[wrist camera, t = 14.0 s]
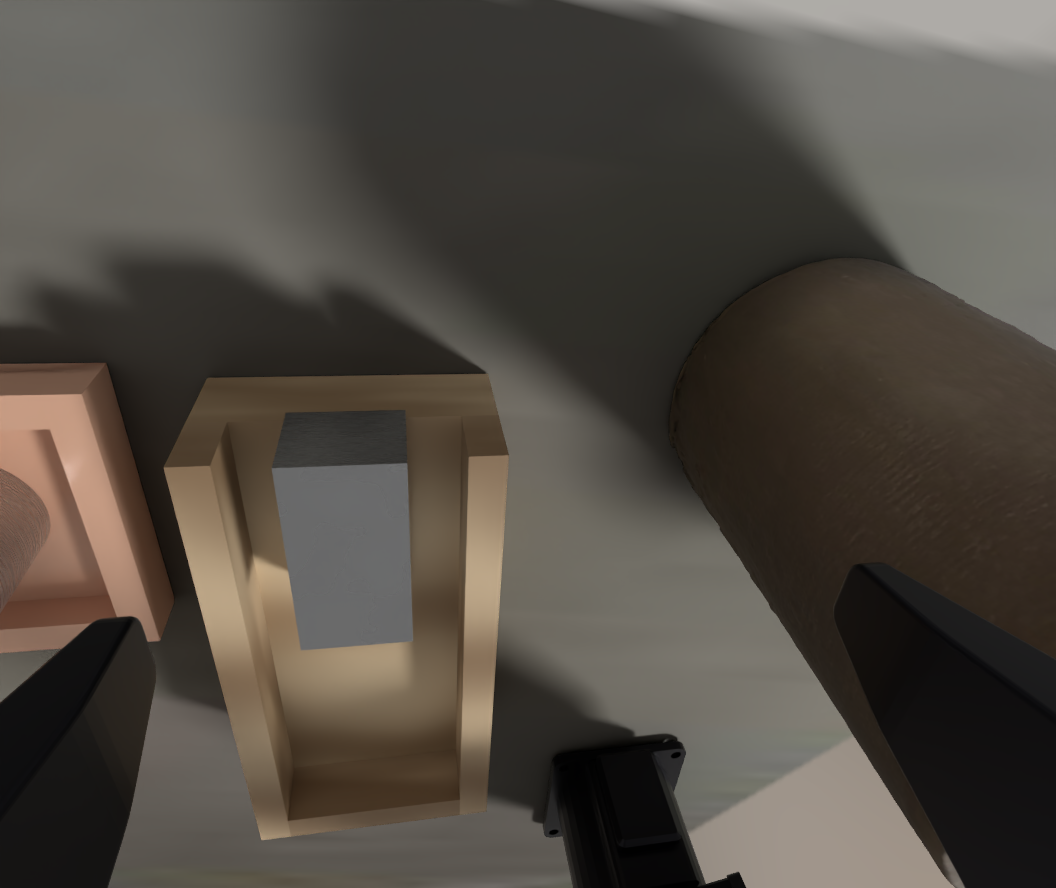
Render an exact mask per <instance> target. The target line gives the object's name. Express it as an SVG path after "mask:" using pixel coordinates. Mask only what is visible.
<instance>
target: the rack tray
mask: <svg viewBox="0 0 1056 888" xmlns="http://www.w3.org/2000/svg"><path fill="white" fill-rule="evenodd" d="M0 468H1V469H3V470H5V471H7V472H9V473H11V474H13V475H14V476H16V477H18V478H19V479H21V480H22V481H23V482H25V483H26V484H27V485H28V486H29V487H31V488H32V489H33V490H34V491H35V492H36V494H37V495H38V496H39V497H40V498H41V500H42V501H43V503H44V505H45V507H46V509H47V511H48V514H49V517H50V533H49V536H48V539H47V541H46V542H45V544H44V546H43V547H42V549H41V550H40V552H39V554H38V555H37V557H36V558H35V560H34V561H33V563H32V564H31V566H30V568H29V569H28V571H27V572H26V574H25V575H24V577H23V579H22V580H21V582H20V583H19V585H18V586H17V588H16V590H15V591H14V593H13V594H12V596H11V597H10V599H9V600H8V602H7V604H6V605H5V607H4V608H3V610H2V611H1V613H0V653H9V652H22V651H35V650H48V649H61V648H63V647H64V646H65V645H67V644H68V643H69V642H70V641H71V640H72V639H73V638H75V637H76V636H77V635H78V634H79V633H80V632H81V631H83V630H84V629H85V628H86V627H87V626H88V625H89V624H91V623H92V622H94V621H96V620H97V619H101V618H110V617H124V616H133V617H136V618H138V619H139V621H140V622H141V624H142V626H143V629H144V632H145V635H146V638H147V641H148V642H152V641H160V640H161V637H162V635H163V632H164V629H165V626H166V623H167V621H168V618H169V615H170V612H171V610H172V607H173V604H174V601H175V599H174V595H173V592H172V588H171V585H170V582H169V578H168V575H167V571H166V568H165V564H164V561H163V557H162V554H161V550H160V547H159V543H158V540H157V537H156V533H155V530H154V526H153V523H152V519H151V516H150V512H149V509H148V505H147V502H146V498H145V495H144V492H143V488H142V485H141V481H140V478H139V474H138V471H137V467H136V464H135V460H134V457H133V453H132V450H131V446H130V443H129V440H128V436H127V433H126V429H125V426H124V422H123V419H122V415H121V412H120V408H119V405H118V401H117V398H116V395H115V391H114V388H113V384H112V381H111V377H110V374H109V370H108V367H107V363H37V364H0Z"/></svg>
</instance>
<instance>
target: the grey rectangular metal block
mask: <svg viewBox="0 0 1056 888" xmlns="http://www.w3.org/2000/svg"><path fill="white" fill-rule="evenodd" d="M272 474H273V480H274V486H275V493H276V499H277V505H278V511H279V517H280V524H281V530H282V536H283V542H284V548H285V555H286V561H287V567H288V573H289V580H290V586H291V592H292V598H293V604H294V611H295V617H296V623H297V629H298V635H299V642H300V648H301V650H314V649H326V648H338V647H350V646H363V645H375V644H387V643H399V642H412V641H413V624H412V593H411V562H410V531H409V500H408V468H407V439H406V410H378V411H334V412H291V413H286V414H285V418H284V422H283V426H282V430H281V434H280V437H279V441H278V445H277V449H276V453H275V457H274V461H273V465H272Z"/></svg>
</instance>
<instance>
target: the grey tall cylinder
mask: <svg viewBox="0 0 1056 888" xmlns="http://www.w3.org/2000/svg"><path fill="white" fill-rule="evenodd" d="M49 533H50V517H49V514H48V511H47V509H46V507H45V505H44V503H43V501H42V500H41V498H40V497H39V496H38V495H37V494H36V492H35V491H34V490H33V489H32V488H31V487H29V486H28V485H27V484H26V483H25V482H23V481H22V480H21V479H19V478H18V477H16V476H14V475H13V474H11V473H9V472H7V471H5V470H3V469H1V468H0V613H1V611H2V610H3V608H4V607H5V605H6V604H7V602H8V600H9V599H10V597H11V596H12V594H13V593H14V591H15V590H16V588H17V586H18V585H19V583H20V582H21V580H22V579H23V577H24V575H25V574H26V572H27V571H28V569H29V568H30V566H31V564H32V563H33V561H34V560H35V558H36V557H37V555H38V554H39V552H40V550H41V549H42V547H43V546H44V544H45V542H46V541H47V539H48V536H49Z"/></svg>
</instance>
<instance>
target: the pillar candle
mask: <svg viewBox="0 0 1056 888" xmlns="http://www.w3.org/2000/svg"><path fill="white" fill-rule="evenodd" d="M670 412H671V413H670V417H669V433H670V436H669V439H670V443H671V446H672V447H673V448H675V449H676V451H677V454H678V457H679V458H680V459H681V461H682V464H683V466H684V467H683V471H684V473H685V474H686V477H687V479H688V480H689V482H690V484H691V485H692V488H693V489H694V491H695V492H696V493H697V494H698V496H699V497H700V498H701V500H702V501H703V503H704V505H705V507H706V509H707V510H708V511H709V513H710V514H711V516H712V517H713V518H714V519H715V520H716V522H717V523H718V525H719V526H720V530H721V532H722V534H723V535H724V536H725V538H726V540H727V541H728V542H729V543H730V545H731V547H732V548H733V550H734V551H735V553H736V554H737V556H738V557H739V558H740V560H741V561H742V563H743V565H744V567H745V568H746V570H747V571H748V572H749V574H750V577H751V579H752V580H753V581H754V583H755V584H756V586H757V587H758V588H759V590H760V591H761V592H762V594H763V595H764V597H765V598H766V600H767V601H768V603H769V606H770V608H771V610H773V612H774V613H775V614H776V615H777V616H778V618H779V620H780V622H781V623H782V624H783V626H784V627H785V629H786V630H787V632H788V633H789V635H790V636H791V638H792V640H793V641H794V643H795V644H796V646H797V648H798V649H799V651H800V652H801V654H802V655H803V657H804V658H805V660H806V661H807V663H808V665H809V666H810V668H811V669H812V671H813V672H814V674H815V675H816V677H817V678H818V680H819V681H820V683H821V684H822V686H823V688H824V690H825V691H826V693H827V694H828V696H829V697H830V699H831V701H832V702H833V704H834V705H835V707H836V708H837V710H838V711H839V713H840V714H841V716H842V717H843V719H844V720H845V722H846V723H847V725H848V727H849V729H850V731H851V732H852V734H853V735H854V737H855V738H856V740H857V742H858V743H859V745H860V746H861V748H862V749H863V751H864V752H865V754H866V755H867V757H868V759H869V760H870V762H871V764H872V765H873V767H874V769H875V770H876V771H877V773H878V774H879V776H880V778H881V779H882V781H883V783H884V784H885V785H886V787H887V788H888V790H889V792H890V793H891V795H892V797H893V798H894V800H895V801H896V803H897V804H898V806H899V807H900V809H901V810H902V812H903V814H904V815H905V817H906V818H907V820H908V822H909V823H910V825H911V826H912V828H913V829H914V831H915V832H916V834H917V836H918V837H919V838H920V840H921V841H922V843H923V844H924V846H925V847H926V849H927V850H928V851H929V853H930V855H931V856H932V858H933V860H934V861H935V863H936V864H937V866H938V868H939V869H940V870H941V872H942V874H943V875H944V876H945V877H946V879H947V880H948V881H949V882H950V883H951V884H952V885H953V886H954V887H955V888H965V887H964V885H963V883H962V881H961V879H960V878H959V876H958V874H957V872H956V870H955V868H954V866H953V865H952V863H951V861H950V859H949V857H948V855H947V853H946V852H945V850H944V848H943V846H942V844H941V842H940V840H939V839H938V837H937V835H936V833H935V831H934V829H933V827H932V826H931V824H930V822H929V820H928V818H927V816H926V814H925V813H924V811H923V809H922V807H921V805H920V803H919V801H918V800H917V798H916V796H915V794H914V792H913V790H912V789H911V787H910V785H909V783H908V781H907V779H906V777H905V776H904V774H903V772H902V770H901V768H900V766H899V764H898V763H897V761H896V759H895V757H894V755H893V753H892V751H891V750H890V748H889V746H888V744H887V742H886V740H885V738H884V736H883V734H882V732H881V730H880V728H879V726H878V724H877V722H876V720H875V717H874V715H873V713H872V711H871V709H870V706H869V704H868V701H867V699H866V697H865V694H864V692H863V690H862V687H861V685H860V682H859V680H858V678H857V675H856V673H855V671H854V668H853V666H852V664H851V661H850V659H849V656H848V654H847V652H846V649H845V647H844V645H843V642H842V640H841V637H840V635H839V633H838V630H837V628H836V625H835V622H834V618H833V607H834V604H835V601H836V599H837V597H838V594H839V592H840V589H841V587H842V585H843V582H844V580H845V578H846V575H847V573H848V571H849V569H850V568H851V567H852V566H854V565H855V564H859V563H873V562H881V563H886V564H888V565H890V566H892V567H894V568H895V569H897V570H899V571H901V572H902V573H904V574H906V575H908V576H909V577H911V578H913V579H915V580H917V581H918V582H920V583H922V584H924V585H925V586H927V587H929V588H931V589H932V590H934V591H936V592H938V593H940V594H941V595H943V596H945V597H947V598H948V599H950V600H952V601H954V602H955V603H957V604H959V605H961V606H963V607H964V608H966V609H968V610H970V611H971V612H973V613H975V614H977V615H978V616H980V617H982V618H984V619H986V620H987V621H989V622H991V623H993V624H994V625H996V626H998V627H1000V628H1001V629H1003V630H1005V631H1007V632H1009V633H1010V634H1012V635H1014V636H1016V637H1017V638H1019V639H1021V640H1023V641H1024V642H1026V643H1028V644H1030V645H1032V646H1033V647H1035V648H1037V649H1039V650H1040V651H1042V652H1044V653H1046V654H1047V655H1049V656H1051V657H1053V658H1055V659H1056V350H1054V349H1052V348H1050V347H1048V346H1046V345H1044V344H1042V343H1040V342H1039V341H1037V340H1036V339H1035V338H1033V337H1031V336H1030V335H1028V334H1026V333H1024V332H1022V331H1021V330H1019V329H1018V328H1016V327H1014V326H1012V325H1010V324H1008V323H1005V322H1003V321H1001V320H999V319H997V318H994V317H992V316H991V315H989V314H986V313H985V312H983V311H981V310H979V309H978V308H976V307H973V306H971V305H970V304H967V303H965V301H964V300H962V299H959V298H958V297H957V296H955V295H953V294H950V293H948V292H946V291H944V290H942V289H941V288H939V287H938V286H937V285H935V284H933V283H931V282H929V281H926V280H925V279H923V278H920V277H917V276H915V275H913V274H911V273H909V272H907V271H904V270H902V269H900V268H897V267H895V266H892V265H889V264H886V263H884V262H880V261H876V260H870V259H865V258H858V259H857V258H836V259H826V260H823V261H820V262H814V263H809V264H806V265H803V266H801V267H798V268H796V269H794V270H791V271H789V272H787V273H784V274H782V275H779V276H776V277H774V278H772V279H770V280H768V281H766V282H764V283H763V284H761V285H760V286H758V287H756V288H754V289H752V290H750V291H749V292H747V294H745V295H744V296H742V297H740V298H739V299H738V300H736V301H735V302H734V303H732V304H731V305H730V306H729V307H727V308H726V309H725V310H724V311H723V312H722V313H721V316H720V317H719V318H718V319H716V320H714V321H713V322H712V324H711V325H710V326H709V327H708V329H707V330H706V331H705V333H704V334H703V336H702V337H701V338H700V340H699V341H698V342H697V343H696V344H695V346H694V347H693V350H692V355H691V356H689V357H688V358H687V361H686V362H685V364H684V366H683V368H682V370H681V373H680V375H679V378H678V381H677V384H676V386H675V389H674V393H673V400H672V404H671V411H670Z"/></svg>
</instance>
